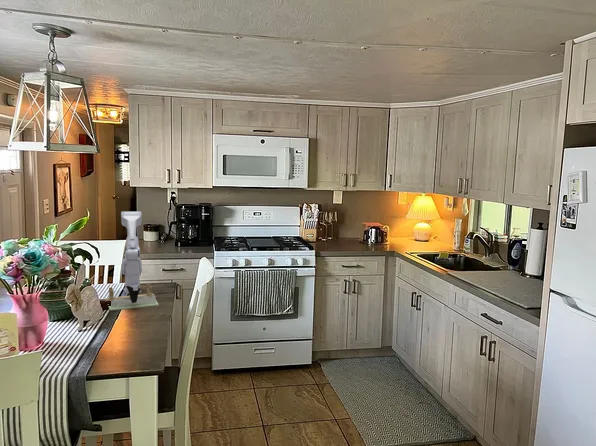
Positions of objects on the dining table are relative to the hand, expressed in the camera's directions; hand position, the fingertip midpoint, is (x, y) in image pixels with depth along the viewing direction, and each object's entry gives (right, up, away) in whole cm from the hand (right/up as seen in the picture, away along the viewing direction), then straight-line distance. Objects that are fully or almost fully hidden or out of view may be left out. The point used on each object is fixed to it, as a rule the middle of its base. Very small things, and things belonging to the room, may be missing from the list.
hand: (133, 301), depth 229 cm
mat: (0, -2, 0) cm, 2 cm away
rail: (0, -1, 0) cm, 1 cm away
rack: (-5, -1, +9) cm, 10 cm away
